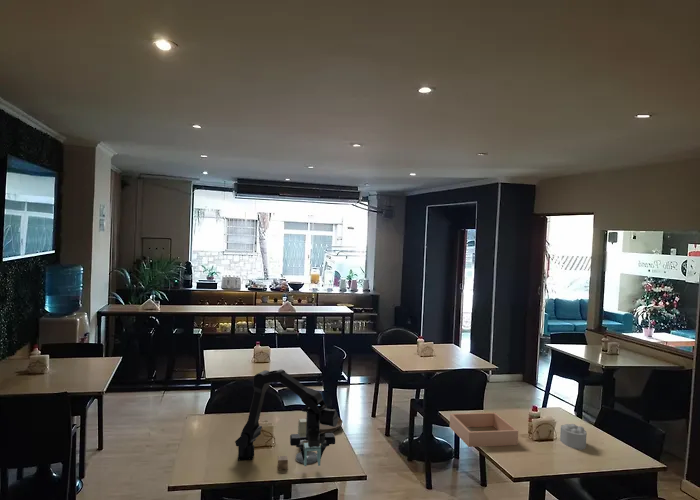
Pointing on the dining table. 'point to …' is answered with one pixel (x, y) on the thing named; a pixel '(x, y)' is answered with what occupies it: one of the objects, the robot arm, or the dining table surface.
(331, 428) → the plant saucer
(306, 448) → the teal arch
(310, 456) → the grey domed disc
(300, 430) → the skincare box
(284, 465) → the walnut block
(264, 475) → the dining table surface
